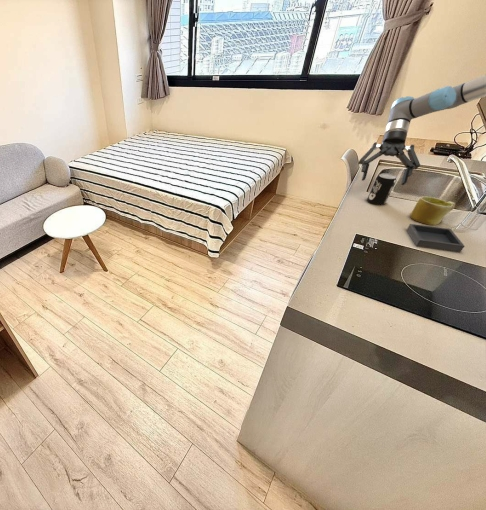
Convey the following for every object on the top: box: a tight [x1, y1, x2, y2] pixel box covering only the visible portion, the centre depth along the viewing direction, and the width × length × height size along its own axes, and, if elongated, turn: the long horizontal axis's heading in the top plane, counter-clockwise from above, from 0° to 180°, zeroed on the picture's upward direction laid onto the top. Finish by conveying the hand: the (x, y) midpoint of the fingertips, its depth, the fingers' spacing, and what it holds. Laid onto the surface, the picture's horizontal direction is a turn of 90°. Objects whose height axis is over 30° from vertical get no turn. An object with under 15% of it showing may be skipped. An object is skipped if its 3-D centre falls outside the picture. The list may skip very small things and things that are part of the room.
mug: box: [410, 195, 456, 226], centre depth 102 cm, size 12×10×10 cm
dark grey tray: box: [406, 223, 466, 254], centre depth 93 cm, size 11×11×3 cm
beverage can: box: [366, 172, 398, 206], centre depth 114 cm, size 7×7×12 cm
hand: (383, 181), depth 115 cm, fingers open, 13 cm apart
